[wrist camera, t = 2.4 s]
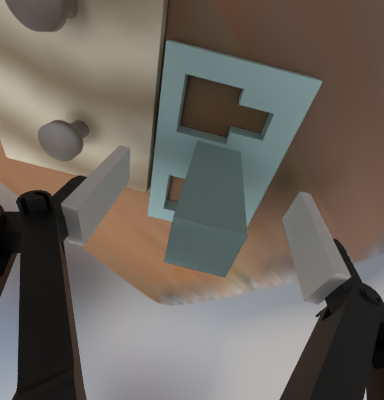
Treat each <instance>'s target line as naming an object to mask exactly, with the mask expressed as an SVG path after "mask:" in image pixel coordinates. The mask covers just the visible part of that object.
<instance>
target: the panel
mask: <svg viewBox="0 0 384 400" xmlns="http://www.w3.org/2000/svg"><path fill="white" fill-rule="evenodd" d="M188 75H192V76H196V77H200V78H203V79H207V80H211V81H215V82H219V83H223V84H227V85H230V86H234V87H238V88H242V91H241V94H240V97H239V105H242V106H246V107H250V108H254V109H258V110H261V111H265V112H269V114H268V117H267V119H266V122H265V124H264V127H263V129H262V131H261V134H260V133H257V132H253V131H249V130H245V129H241V128H237V127H233V126H230V128H229V132H228V135H227V137H223V136H219V135H215V134H211V133H207V132H203V131H199V130H196V129H192V128H188V127H184V126H180V120H181V115H182V109H183V103H184V97H185V91H186V85H187V79H188ZM322 82H323V81H321V80H319V79H317V78H315V77H311V76H308V75H304V74H300V73H296V72H292V71H289V70H285V69H281V68H277V67H273V66H269V65H266V64H262V63H258V62H254V61H250V60H247V59H243V58H239V57H235V56H231V55H228V54H224V53H220V52H216V51H212V50H208V49H205V48H201V47H197V46H193V45H189V44H186V43H182V42H178V41H174V40H166V48H165V57H164V67H163V76H162V85H161V95H160V104H159V114H158V123H157V133H156V142H155V152H154V161H153V170H152V180H151V189H150V199H149V208H148V216H151V217H155V218H159V219H163V220H167V221H171V222H172V225H171V230H170V234H169V239H168V244H167V249H166V254H165V259H164V262H165V263H169V264H173V265H177V266H181V267H185V268H189V269H193V270H197V271H201V272H205V273H209V274H213V275H217V276H221V277H226V275H227V273H228V271H229V269H230V267H231V265H232V264H233V262H234V260H235V258H236V256H237V254H238V253H239V251H240V249H241V247H242V245H243V243H244V241H245V240H246V238H247V236H248V235H247V227H248V225H249V223H250V221H251V219H252V217H253V215H254V213H255V211H256V209H257V207H258V205H259V203H260V201H261V200H262V198H263V196H264V194H265V192H266V190H267V188H268V186H269V184H270V182H271V180H272V178H273V176H274V175H275V173H276V171H277V169H278V167H279V165H280V163H281V161H282V159H283V157H284V155H285V153H286V151H287V150H288V148H289V146H290V144H291V142H292V140H293V138H294V136H295V134H296V132H297V130H298V128H299V126H300V124H301V123H302V121H303V119H304V117H305V115H306V113H307V111H308V109H309V107H310V105H311V103H312V101H313V99H314V98H315V96H316V94H317V92H318V90H319V88H320V86H321V84H322ZM171 176H175V177H179V178H182V179H185V181H184V184H183V187H182V190H181V194H180V197H179V200H178V202H175V201H171V200H167V197H168V191H169V185H170V179H171Z"/></svg>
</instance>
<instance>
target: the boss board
mask: <svg viewBox="0 0 384 400" xmlns="http://www.w3.org/2000/svg"><path fill="white" fill-rule="evenodd" d="M167 6H168V0H0V140H1V143H2V146H3V149H4V151H5V154H6V157H7V158H10V159H14V160H18V161H22V162H26V163H30V164H34V165H38V166H42V167H46V168H50V169H54V170H58V171H62V172H66V173H70V174H74V175H78V176H79V175H82V176H85V177H88V176H89V175H90V174H91V173H92V172H93V171H94V170H95V169H96V168H97V167H98V166H99V165H100V164H101V163H102V162H103V161H104V160H105V159H106V158H107V157H108V156H109V155H110V154H111V153H112V152H113V151H114V150H115V149H116V148H117V147H118V146H119V145H121V146H125V147H129V148H130V177H129V182H128V183H127V185H126V186H125V188H129V189H133V190H137V191H141V192H145V193H146V192H147V190H148V189H149V185H150V175H151V165H152V155H153V145H154V135H155V125H156V115H157V105H158V95H159V85H160V75H161V65H162V55H163V45H164V36H165V26H166V16H167Z"/></svg>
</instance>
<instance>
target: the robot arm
mask: <svg viewBox="0 0 384 400" xmlns="http://www.w3.org/2000/svg"><path fill="white" fill-rule="evenodd" d="M129 177H130V148H129V147H125V146H121V145H119V146H118V147H117V148H116V149H115V150H114V151H113V152H112V153H111V154H110V155H109V156H108V157H107V158H106V159H105V160H104V161H103V162H102V163H101V164H100V165H99V166H98V167H97V168H96V169H95V170H94V171H93V172H92V173H91V174H90V175H89V176H88V177H85V176H82V175H79V176H77V177H74V178H72V179H71V180H70V181H69V182H67V183H66V185H64V186H63V187H62V188H61V189H60V190H59V191H57V192H56V193H55V194H54V195H53V196H51V194H50V193H48V192H47V191H42V190H34V191H29V192H26V193H24V194H22V195H21V196H19V197H18V198H17V201H16V203H17V205H18V208H19V211H20V212H4V209H3V208H2V206H1V205H0V296H1V294H2V291H3V288H4V286H5V284H6V281H7V278H8V276H9V273H10V271H11V268H12V265H13V263H14V261H15V258H16V255H17V253H21V256H20V299H19V300H20V301H19V343H18V383H17V391H16V393H15V395H14V397H13V399H12V400H86V394H85V389H84V384H83V377H82V370H81V363H80V356H79V348H78V341H77V335H76V327H75V320H74V313H73V306H72V299H71V291H70V285H69V277H68V270H67V263H66V256H65V250H64V244H63V241H64V240H65V239H66V237H67V236H68V238H69V242H70V243H73V244H77V245H81V246H84V245H85V243H86V242H87V241H88V239H89V238H90V236H91V235H92V233H93V232H94V230H95V229H96V228H97V226H98V225H99V223H100V222H101V220H102V219H103V218H104V216H105V215H106V213H107V212H108V210H109V209H110V207H111V206H112V205H113V203H114V202H115V200H116V199H117V197H118V196H119V195H120V193H121V192H122V190H123V189H124V187H125V186H126V185H127V183H128V182H129ZM282 221H283V224H284V228H285V232H286V235H287V239H288V243H289V246H290V250H291V254H292V257H293V261H294V265H295V268H296V272H297V276H298V279H299V283H300V286H301V290H302V294H303V297H304V301H306V302H310V303H314V304H319V303H321V302H322V301H323V300H324V299H325V301H326V303H327V307H325V308H324V309H323V310H322V311H320V312H319V313H318V314H317V315H316V317H319V316H320V317H319V319H318V322H317V323H316V326H315V328H314V330H313V332H312V334H311V336H310V338H309V340H308V342H307V344H306V346H305V348H304V350H303V352H302V355H301V357H300V359H299V361H298V363H297V365H296V367H295V369H294V371H293V373H292V375H291V377H290V379H289V381H288V384H287V385H286V388H285V390H284V392H283V394H282V396H281V398H280V400H363V398H364V394H365V388H366V393H367V400H384V302H383V301H382V299H381V297H380V296H379V294H378V293H377V292H376V291H375V290H373V289H372V288H371V287H370V286H368V285H366V284H364V283H362V281H361V279H360V277H359V275H358V273H357V272H356V269H355V268H354V266H353V264H352V262H351V260H350V258H349V256H347V255H348V254H347V252H346V250H345V249H344V247H343V246H342V245H341V244H340V242H339V241H338V240H336V239H333V238H332V236H331V234H330V232H329V230H328V228H327V226H326V224H325V222H324V220H323V218H322V216H321V214H320V212H319V210H318V208H317V206H316V204H315V202H314V200H313V198H312V196H311V194H309V193H305V192H301V191H300V192H299V193H298V195H297V196H296V198H295V200H294V201H293V203H292V204H291V206H290V207H289V209H288V210H287V212H286V214H285V215H284V217H283V218H282Z"/></svg>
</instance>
